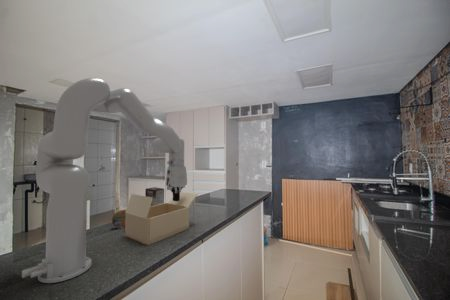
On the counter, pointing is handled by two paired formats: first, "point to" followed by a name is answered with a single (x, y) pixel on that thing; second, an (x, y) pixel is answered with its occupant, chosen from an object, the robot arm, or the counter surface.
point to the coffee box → (155, 195)
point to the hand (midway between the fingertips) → (176, 200)
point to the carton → (157, 223)
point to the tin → (119, 219)
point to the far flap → (184, 199)
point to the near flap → (139, 205)
